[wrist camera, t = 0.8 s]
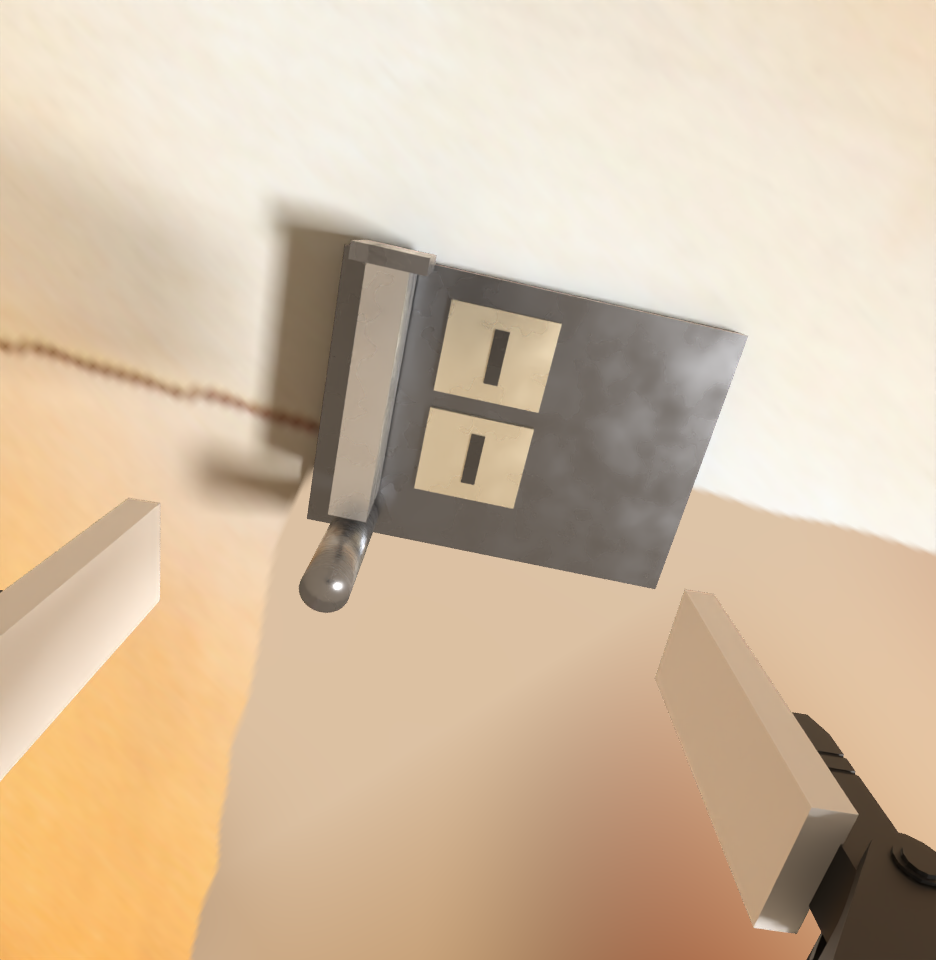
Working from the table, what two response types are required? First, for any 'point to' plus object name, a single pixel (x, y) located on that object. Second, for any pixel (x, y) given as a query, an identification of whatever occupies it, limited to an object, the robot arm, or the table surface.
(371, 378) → the brushed metal block
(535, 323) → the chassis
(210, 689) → the table surface
